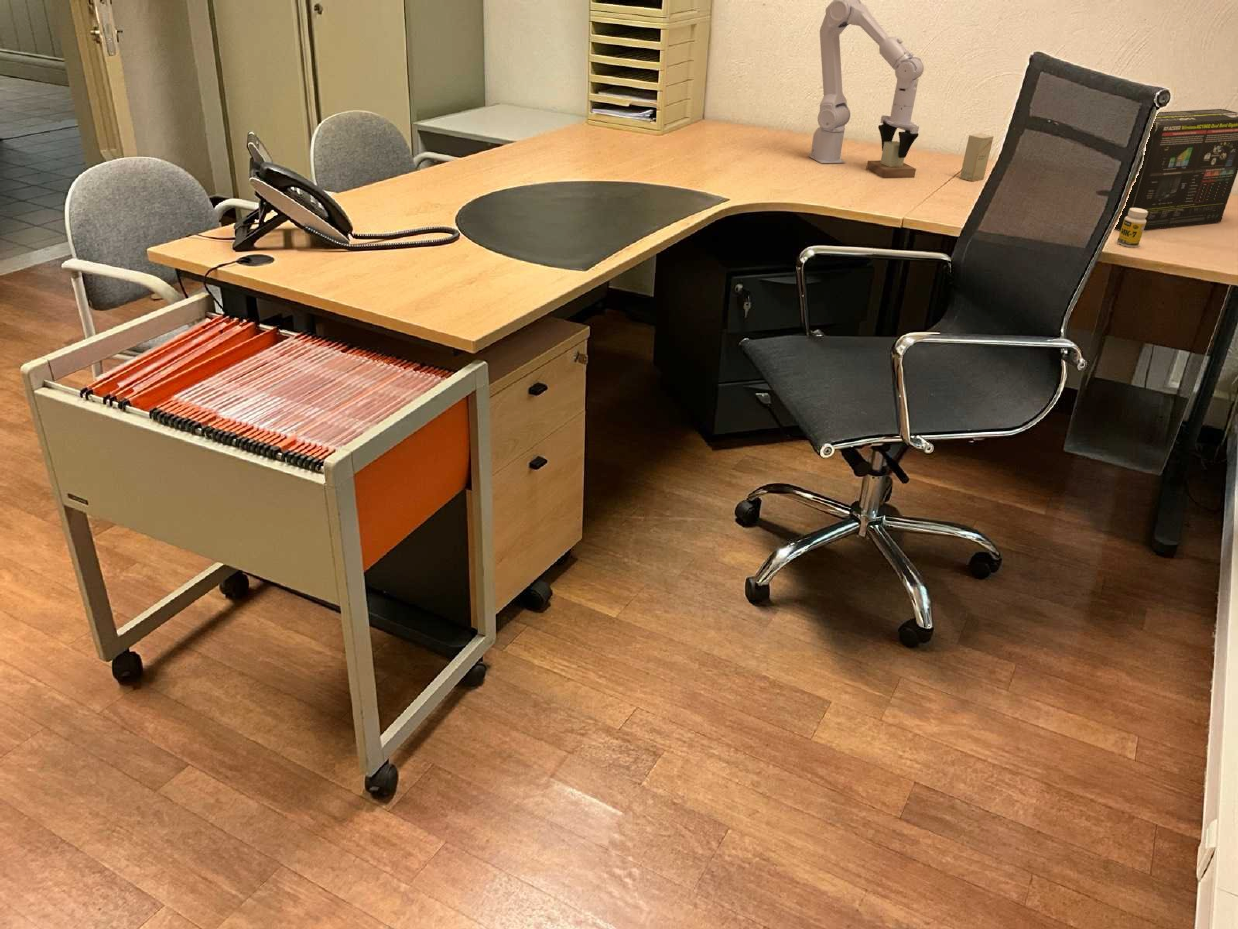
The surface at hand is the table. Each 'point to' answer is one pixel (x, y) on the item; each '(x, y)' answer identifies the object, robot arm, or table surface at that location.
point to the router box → (1186, 169)
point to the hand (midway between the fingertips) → (893, 154)
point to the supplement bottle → (1132, 227)
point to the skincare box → (976, 157)
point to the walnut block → (890, 170)
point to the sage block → (891, 154)
